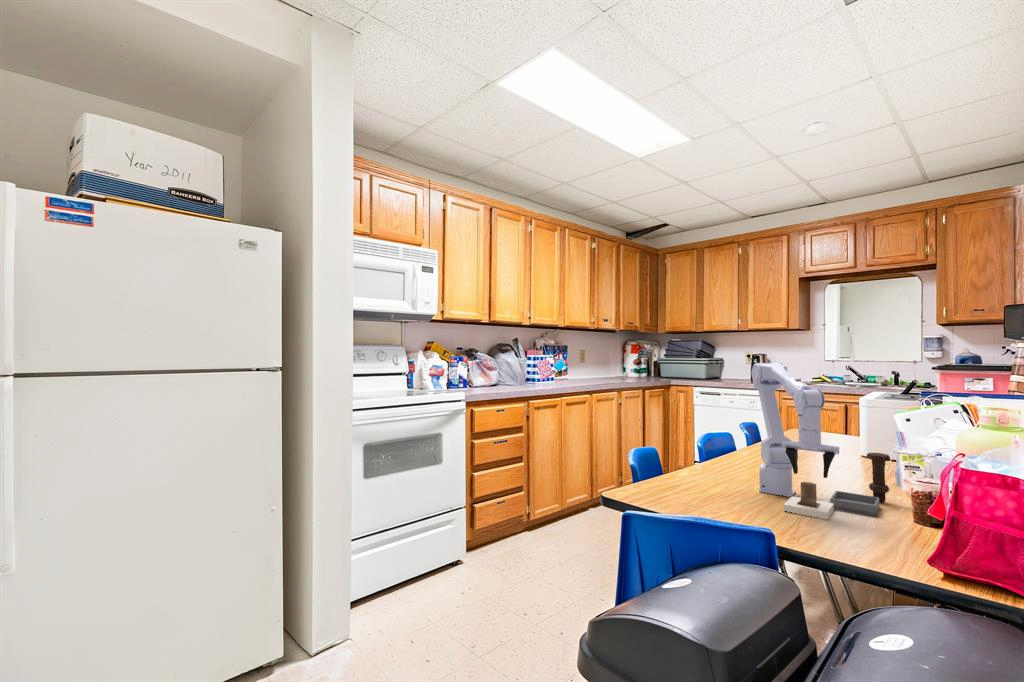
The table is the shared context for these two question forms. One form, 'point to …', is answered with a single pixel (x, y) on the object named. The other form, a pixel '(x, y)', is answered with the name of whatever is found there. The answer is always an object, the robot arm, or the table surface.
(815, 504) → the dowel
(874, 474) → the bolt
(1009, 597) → the table surface
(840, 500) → the tray
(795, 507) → the socket block
